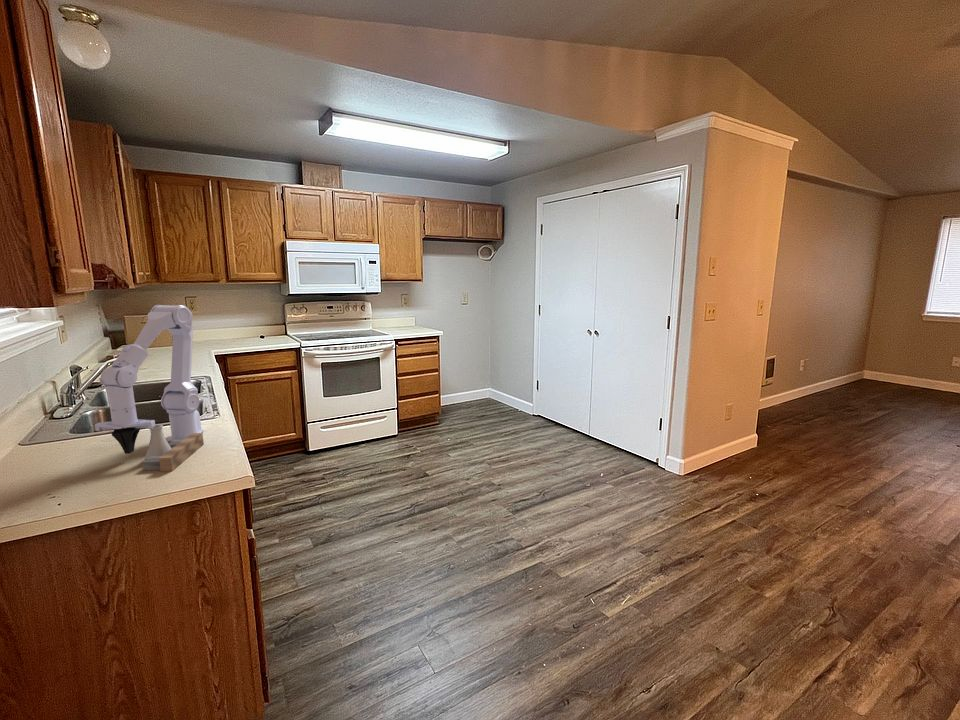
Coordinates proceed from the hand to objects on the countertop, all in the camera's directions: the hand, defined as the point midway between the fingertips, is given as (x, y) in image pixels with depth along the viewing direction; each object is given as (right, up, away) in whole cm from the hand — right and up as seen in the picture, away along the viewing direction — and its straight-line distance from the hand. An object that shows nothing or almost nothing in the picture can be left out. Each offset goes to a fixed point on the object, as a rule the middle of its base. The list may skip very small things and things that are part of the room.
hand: (129, 452), depth 130 cm
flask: (+8, -2, +2) cm, 8 cm away
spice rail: (+12, -2, +2) cm, 12 cm away
